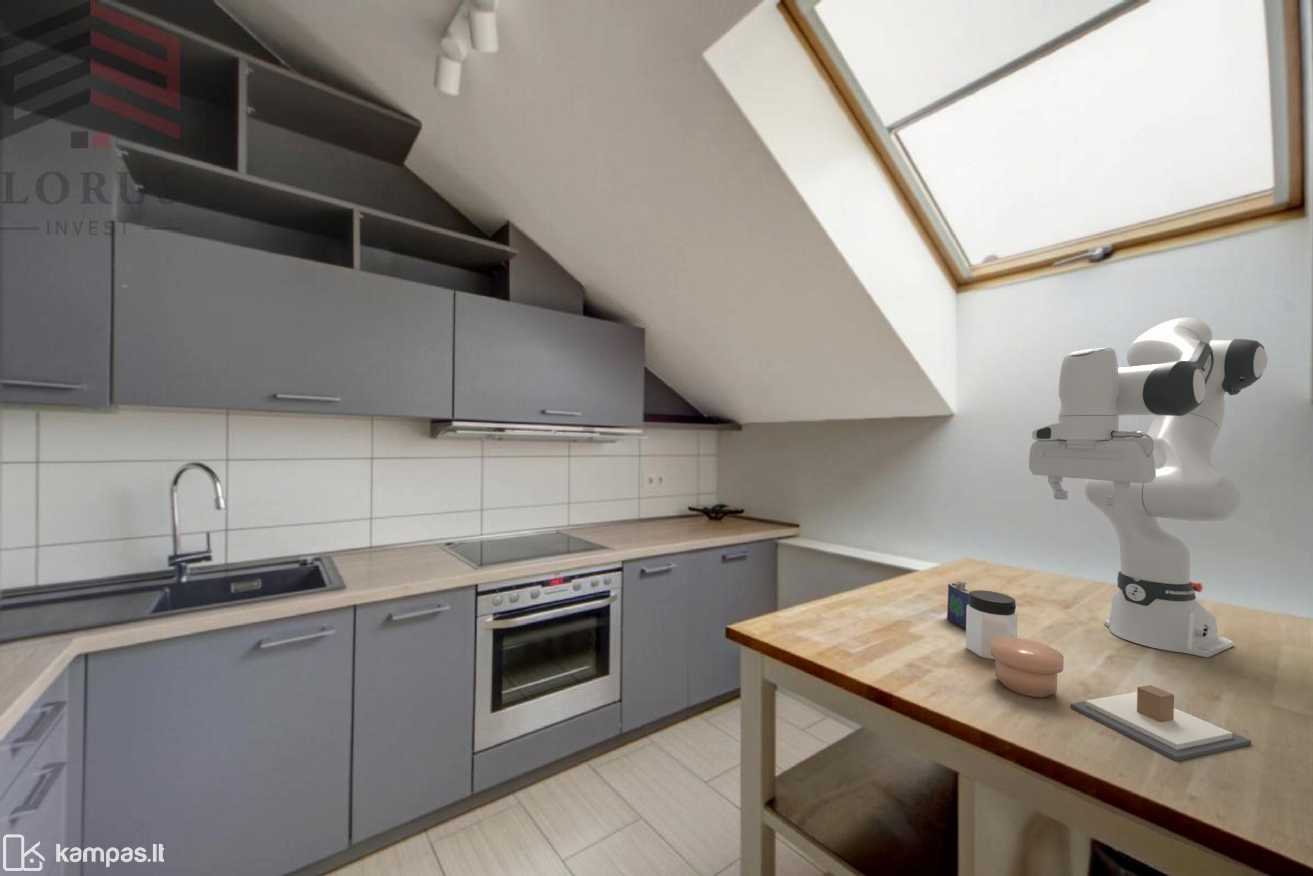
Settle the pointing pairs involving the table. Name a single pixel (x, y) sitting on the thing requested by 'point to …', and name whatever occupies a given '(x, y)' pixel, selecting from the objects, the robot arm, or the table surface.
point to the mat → (1159, 746)
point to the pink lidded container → (1026, 666)
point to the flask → (957, 603)
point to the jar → (989, 620)
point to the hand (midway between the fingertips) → (1086, 502)
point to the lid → (1159, 718)
